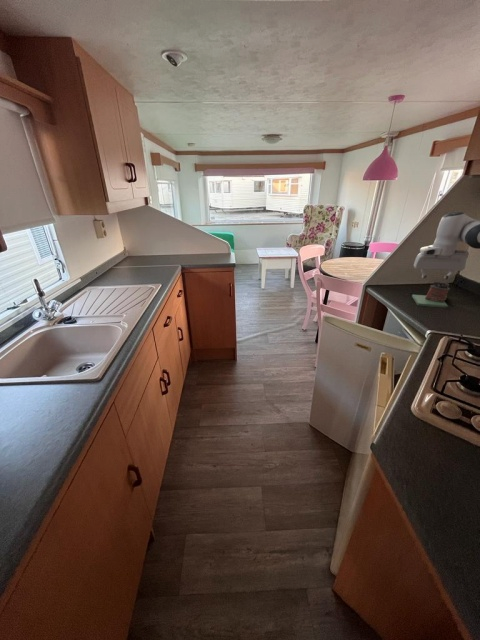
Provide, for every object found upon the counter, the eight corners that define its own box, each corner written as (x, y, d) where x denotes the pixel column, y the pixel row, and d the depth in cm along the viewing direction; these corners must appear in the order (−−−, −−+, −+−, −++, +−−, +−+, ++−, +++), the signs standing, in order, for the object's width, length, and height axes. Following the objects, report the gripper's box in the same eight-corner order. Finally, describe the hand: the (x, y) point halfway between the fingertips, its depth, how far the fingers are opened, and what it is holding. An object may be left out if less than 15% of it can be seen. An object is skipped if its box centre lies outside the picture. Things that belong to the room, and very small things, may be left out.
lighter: (442, 300, 134) (451, 282, 128) (443, 303, 131) (453, 285, 126) (424, 297, 137) (432, 279, 131) (425, 299, 134) (433, 281, 129)
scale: (442, 298, 139) (444, 293, 138) (451, 308, 129) (453, 302, 127) (411, 296, 143) (412, 290, 142) (417, 305, 133) (419, 299, 131)
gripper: (467, 248, 123) (457, 277, 129) (416, 248, 129) (409, 275, 135) (473, 251, 118) (462, 281, 124) (420, 251, 124) (413, 279, 130)
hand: (434, 278), depth 130 cm, fingers open, 8 cm apart
